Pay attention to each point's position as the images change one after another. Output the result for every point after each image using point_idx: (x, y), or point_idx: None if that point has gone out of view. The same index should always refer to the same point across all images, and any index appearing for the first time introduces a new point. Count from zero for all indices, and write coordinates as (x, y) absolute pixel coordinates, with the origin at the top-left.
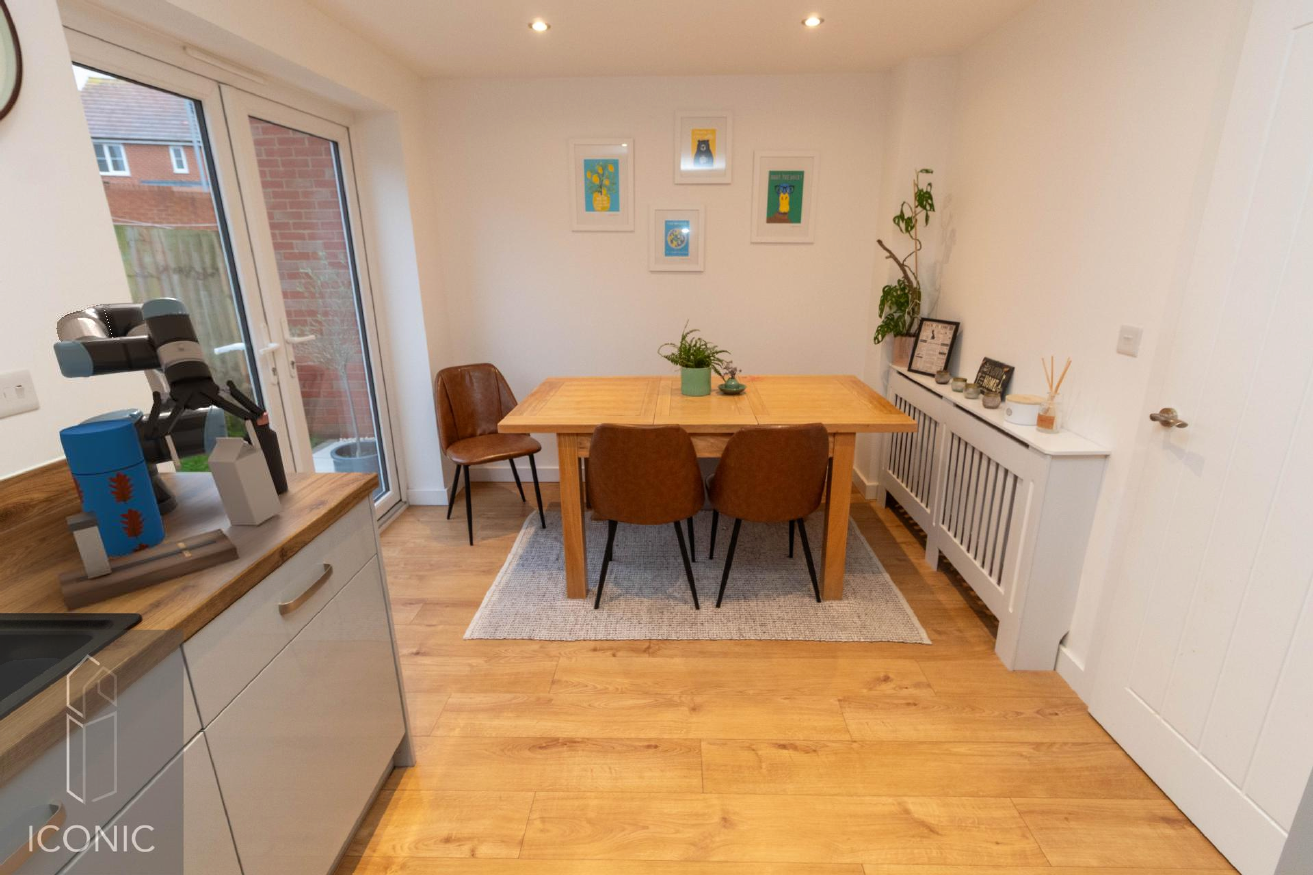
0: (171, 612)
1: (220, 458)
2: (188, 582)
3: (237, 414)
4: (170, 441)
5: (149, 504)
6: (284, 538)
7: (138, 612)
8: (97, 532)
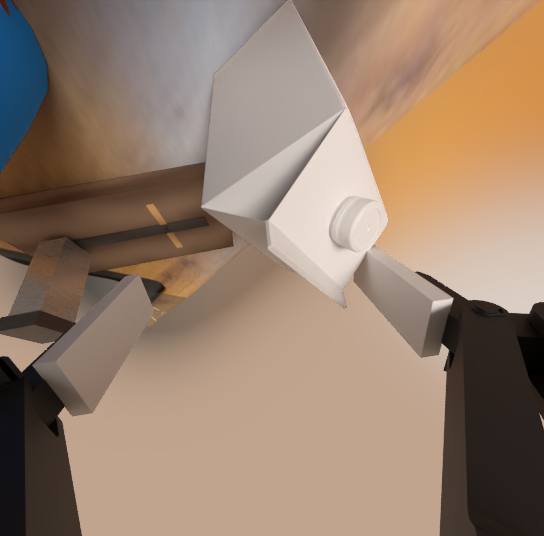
0: (185, 286)
1: (252, 242)
2: (185, 256)
3: (453, 390)
4: (104, 384)
5: (5, 149)
6: None
7: (156, 280)
8: (75, 313)
